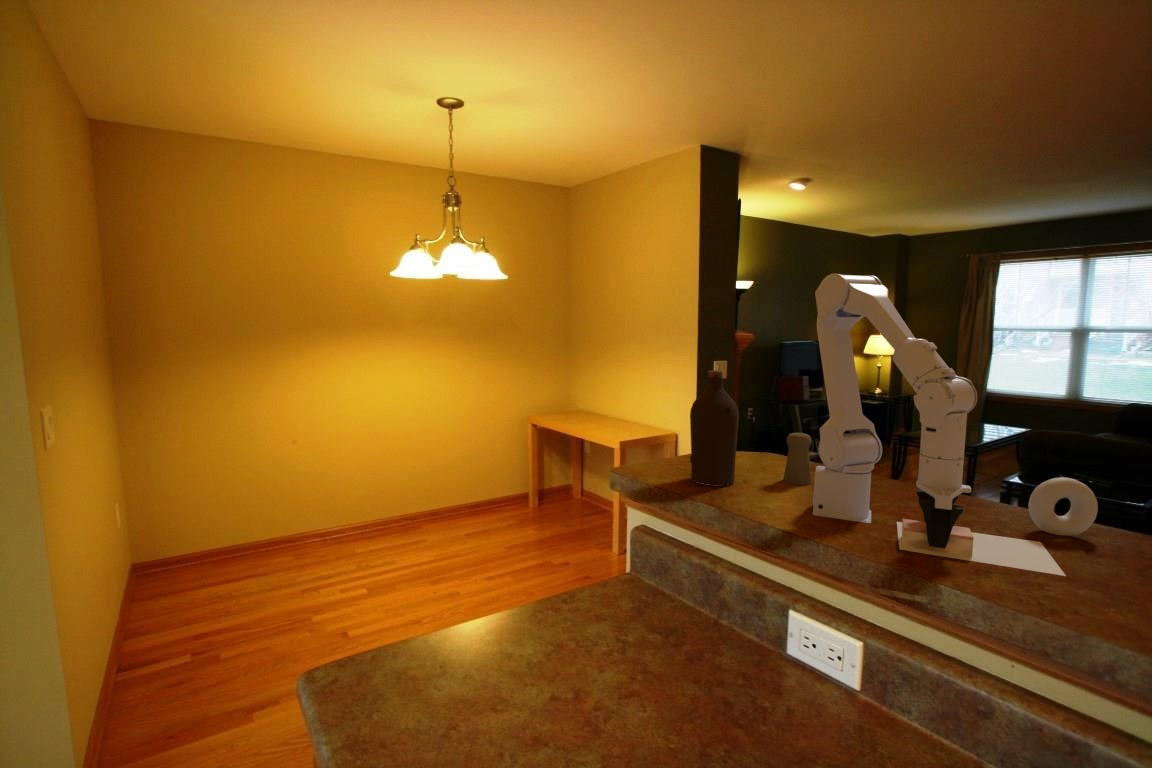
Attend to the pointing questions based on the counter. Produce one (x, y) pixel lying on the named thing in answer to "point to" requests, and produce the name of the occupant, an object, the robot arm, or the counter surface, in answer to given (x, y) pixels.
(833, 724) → the counter surface
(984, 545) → the mat
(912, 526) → the pink and beige box
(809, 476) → the cork
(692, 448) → the olive oil
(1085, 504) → the donut
